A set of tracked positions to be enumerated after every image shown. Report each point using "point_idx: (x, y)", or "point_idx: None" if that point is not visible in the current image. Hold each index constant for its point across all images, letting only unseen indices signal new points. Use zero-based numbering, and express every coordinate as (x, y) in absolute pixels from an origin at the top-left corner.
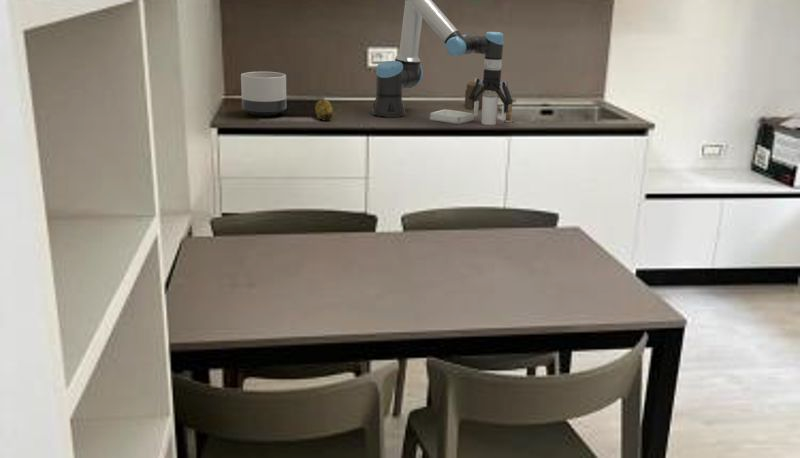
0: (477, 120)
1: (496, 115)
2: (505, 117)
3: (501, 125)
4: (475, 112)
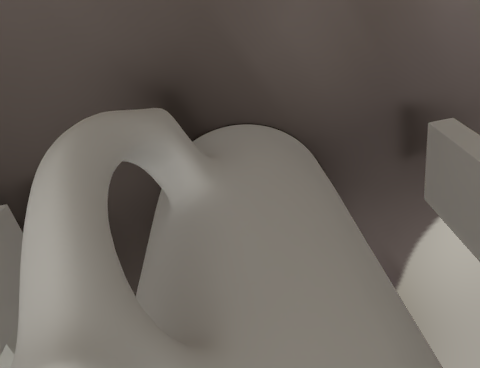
0: (10, 148)
1: (351, 217)
2: (470, 130)
3: (396, 150)
4: (18, 301)
